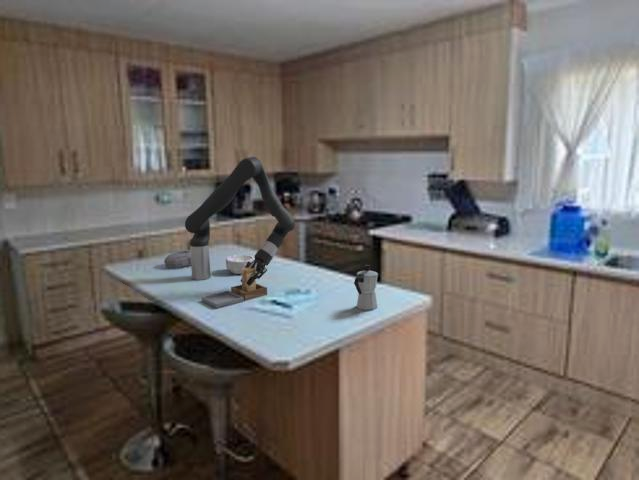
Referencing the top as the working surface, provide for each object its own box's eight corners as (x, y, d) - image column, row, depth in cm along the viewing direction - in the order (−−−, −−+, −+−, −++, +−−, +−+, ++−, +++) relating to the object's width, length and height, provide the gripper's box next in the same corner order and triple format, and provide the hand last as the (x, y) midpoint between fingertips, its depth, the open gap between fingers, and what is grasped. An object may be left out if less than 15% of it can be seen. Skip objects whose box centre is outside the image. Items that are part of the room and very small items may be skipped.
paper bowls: (252, 275, 236) (251, 260, 234) (223, 275, 236) (222, 261, 235) (257, 268, 251) (256, 254, 249) (229, 268, 251) (229, 254, 249)
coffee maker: (366, 300, 195) (366, 260, 191) (384, 305, 190) (384, 263, 186) (346, 310, 184) (346, 267, 180) (364, 315, 178) (364, 271, 175)
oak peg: (242, 294, 205) (241, 268, 203) (250, 292, 208) (249, 267, 206) (247, 296, 202) (246, 270, 200) (256, 294, 205) (254, 268, 202)
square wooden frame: (231, 294, 205) (231, 287, 205) (253, 289, 213) (252, 282, 212) (245, 300, 197) (244, 292, 196) (267, 294, 204) (266, 287, 204)
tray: (202, 301, 197) (201, 296, 196) (228, 294, 205) (228, 290, 205) (216, 308, 187) (216, 304, 187) (243, 301, 196) (243, 297, 195)
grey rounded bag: (192, 260, 270) (160, 266, 257) (191, 246, 269) (158, 252, 255) (204, 265, 260) (171, 271, 246) (204, 250, 258) (170, 256, 245)
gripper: (252, 245, 211) (231, 275, 206) (270, 250, 200) (248, 282, 195) (262, 255, 215) (241, 284, 210) (280, 260, 205) (259, 291, 200)
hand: (245, 283), depth 203 cm, fingers closed on oak peg, 4 cm apart
